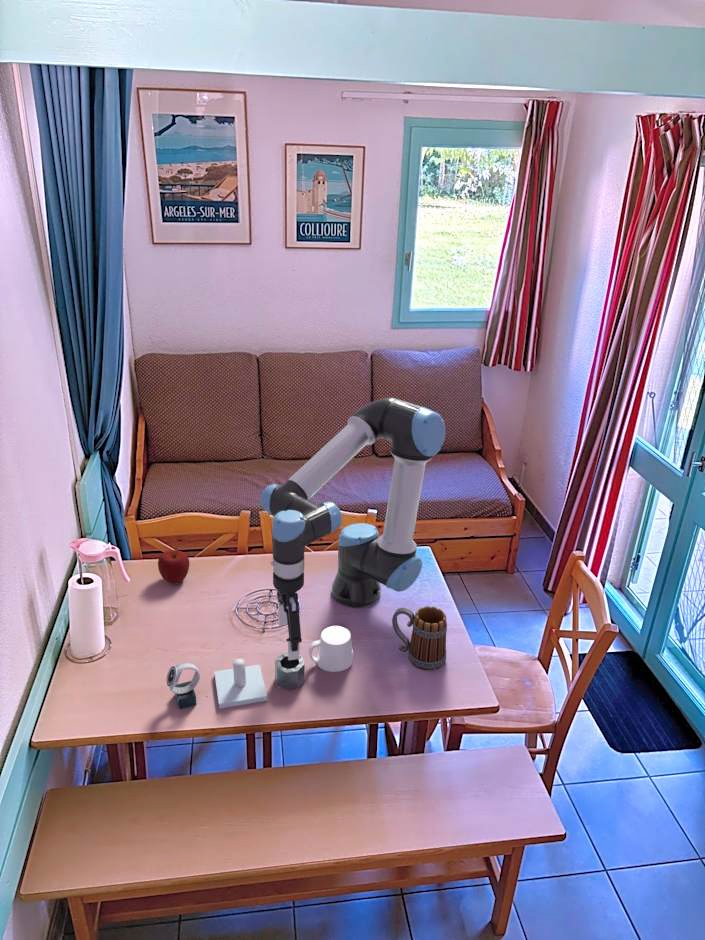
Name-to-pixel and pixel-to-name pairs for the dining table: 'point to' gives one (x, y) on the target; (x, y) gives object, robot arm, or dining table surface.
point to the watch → (183, 684)
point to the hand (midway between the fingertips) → (288, 641)
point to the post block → (240, 685)
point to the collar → (289, 672)
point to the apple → (173, 566)
